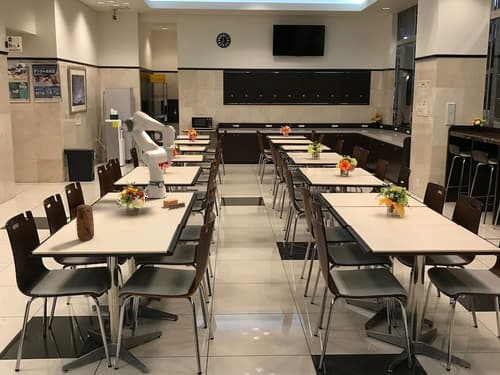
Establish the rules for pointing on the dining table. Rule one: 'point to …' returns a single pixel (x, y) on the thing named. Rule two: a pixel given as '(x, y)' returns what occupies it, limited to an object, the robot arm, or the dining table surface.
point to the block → (85, 222)
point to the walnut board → (177, 205)
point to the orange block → (169, 202)
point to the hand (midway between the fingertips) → (169, 165)
